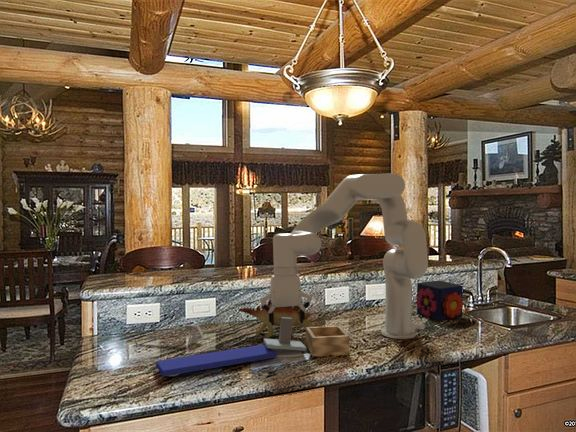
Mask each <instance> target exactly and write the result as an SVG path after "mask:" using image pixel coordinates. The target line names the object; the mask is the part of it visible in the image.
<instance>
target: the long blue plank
mask: <svg viewBox="0 0 576 432" xmlns="http://www.w3.org/2000/svg"><path fill="white" fill-rule="evenodd" d="M275 357H277V352H276V351H274V350H272V349H270V348H267V347H266V345H265V344H259V345H253V346H252V345H251V346H245V347H239V348H234V349H225V350H220V351H213V352H207V353H201V354H193V355H188V356H180V357H174V358H167V359H161V360H156V361H155V363H156V364H155V366H156V368H157V370H158V371H159V373H160V374H161V375H162V377H175V376H179V375H180V374H186V373H187V374H188V373H191V372H198V371H204V370H210V369H216V368H221V367H226V366H227V367H228V366H231V365H232V366H233V365H238V364H244V363H245V364H246V363H251V362H257V361H263V360H267V359H274V358H275ZM277 358H278V357H277Z"/></svg>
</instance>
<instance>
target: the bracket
mask: <svg viewBox="0 0 576 432" xmlns="http://www.w3.org/2000/svg"><path fill="white" fill-rule="evenodd" d="M183 328H185V329H183ZM174 331H175V332H174ZM197 331H198V333H199V335H196V333H197ZM184 332H187V333H188V332H190V334H189V338H188V342H189V344H190V345H193V344H194V343H196V342H197V341H200V340H201V339H203V338H204V336H205V335H204V333H203V331H202V329H201V327H200V325H199V324H198V323H197V324H187V325H186V324H185V325H183V326H180V327H177V328H174V329H171V330H168V331H164V332H161V333H158V334H156V335H153V334H151V335H150V336H147V337H143V338H139V339H135V340H134V343H135V345H136V346H141V345H144V344H147V343H151V342H153V341H154V342H155V341H158V340H160V339H164V338H167V337H170V336H174V335H177V334H180V333H181V334H182V333H184ZM165 334H166V335H165ZM151 338H152V339H151ZM147 339H149V340H147ZM142 340H146V341H142ZM139 341H142V342H140V343H138V342H139Z"/></svg>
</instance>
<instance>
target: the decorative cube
mask: <svg viewBox="0 0 576 432" xmlns="http://www.w3.org/2000/svg"><path fill="white" fill-rule="evenodd" d="M463 289H464V286H463V285H461V284H457V283H454V282H449V281H444V280H433V281H432V280H431V281H430V280H429V281H424V282H423V281H422V282H417V283H416V298H415V299H416V302H415V303H416V313H417V314H418V315H421V316H423V317H426V318H430V319H433V320H437V321H446V320H454V319H459V318H463V308H464V302H463V297H464V294H463V291H464V290H463Z"/></svg>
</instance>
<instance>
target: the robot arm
mask: <svg viewBox="0 0 576 432" xmlns="http://www.w3.org/2000/svg"><path fill="white" fill-rule="evenodd" d="M405 188H406V182H405V179H404V178H403V176H402V175H400V174H398V173H395V172H391V173H389V172H387V173H361V174H360V173H359V174H351V175H348V176H346V177H345V178H343V179H342V180H341V182H340V183H338V185H337V186H336V188H334V190H333V191H332V192H331V193H330V194H329V196H328V197H327V198H326V199H325V200H324V201H323V202H322V204H320V205H319V206H317V207H316V208H315V209H314V210H312V211H311V212H310V213H308V214H307V215H306V216H305V217H303V219H301V220H300V221H299V223H298V224H297V225H296V226H295V227H294V228H293V229H292V231H291V232H289V233H288V232H287V233H285V232H283V233H276V234H274V235H273V237H272V251H273V253H272V255H273V256H272V257H273V274H272V275H271V278H270V289H269V290H270V292H269V293H268V294H267V295H265V296H263V297H262V298H260V299H259V302H260V304H261V306H263V308H264V309H265V310H266V311H268V312H269V322H271V325H273V326H275V325H274V313H273V310H274V309H275V308H276V307H289V306H293V307H294V306H299V307H300V309H299V320H300V322H301V323H303V320H305V314H306V310H307V308H309V306H310V304H311V303H312V300H313V296H312V295H310V294H308V293H305V292H303V291H302V285H301V279H300V275H299V274H298V273H299V272H302V267H301V266H300V267H299V266H298V264H297V263H298V262H297V256H298V255H301V256H313V255H315V254H317V253H318V252H319V251H320V250H321V247H322V240H321V238H320V236H319V235H318V233H319V232H320V231H322V230H323V229H325V228H327V227H329V226H332V225H334V224H337V223H338V222H341V221H342V220H343V219H344V218H345V216H346V215H348V213H349V211H350V210H351V209H352V208H353V206H355V204H356V203H357V202H358V201H359V200H375V201H377V203H378V205H379V206H380V208H381V214H382V222H383V233H384V239H385V241H386V242H387V243H388V244H389V245H391V246H396V247H400V248H392V249H390V250H388V251H386V253H385V254H384V257H383V260H382V267H383V271H384V279H385V316H384V317H385V319H384V320H385V327H382V328H381V330H380V334H381V335H382V336H384V337H386V338H390V339H395V340H410V339H414V338H415V337H416V336H417V330H424V329H425V328H426V326H425V324H424V323H418V322H413V284H412V280H411V279H414V280H416V279H421V278H423V276H425V274H426V272H427V271H428V266H429V265H428V264H429V262H428V261H429V260H428V247H427V245H428V244H427V236H426V231H425V230H424V229H425V228H424V227H423V225H422V224H420V222H418V221H416V220H409V219H408V215H407V208H406V203H405V200H404V198H403V197H402V194H403V193H404V191H405V190H406V189H405ZM401 247H402V248H401ZM303 298H305V299H306V301H305V302H304V303H303ZM269 300H270V302H271V303H272V304H271V305H270V306H269V307H268V306H267V305H266V304H267V303H266V302H268V301H269Z"/></svg>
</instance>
